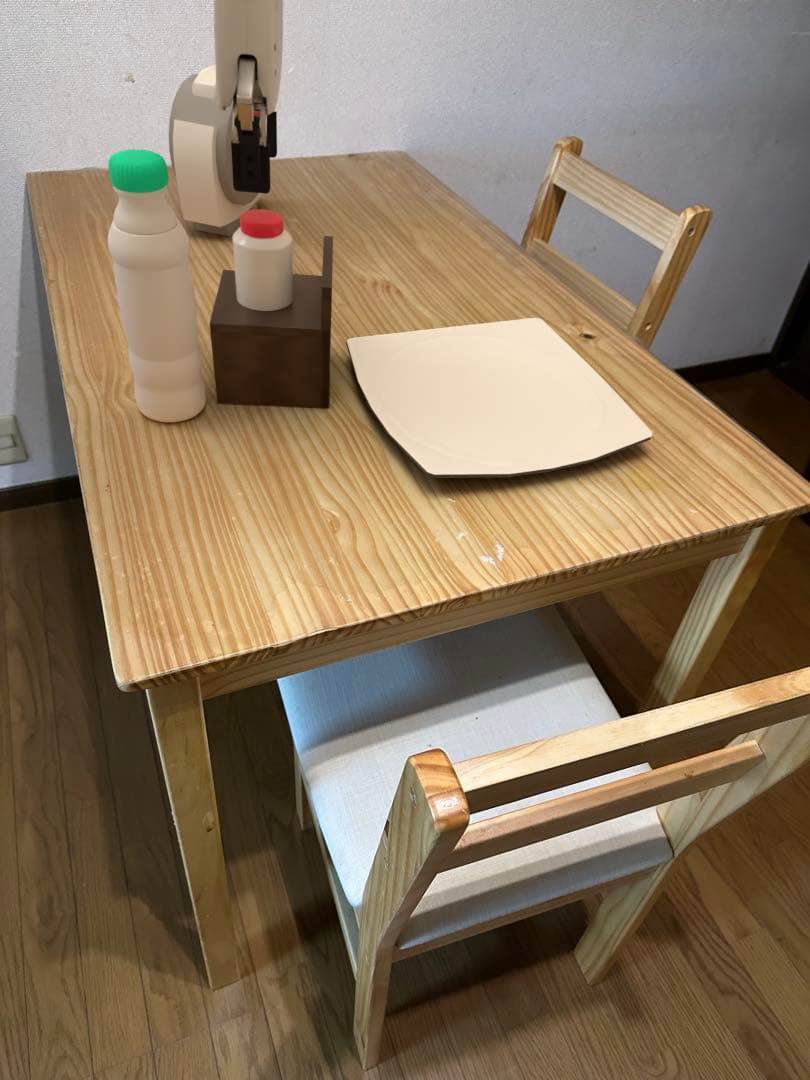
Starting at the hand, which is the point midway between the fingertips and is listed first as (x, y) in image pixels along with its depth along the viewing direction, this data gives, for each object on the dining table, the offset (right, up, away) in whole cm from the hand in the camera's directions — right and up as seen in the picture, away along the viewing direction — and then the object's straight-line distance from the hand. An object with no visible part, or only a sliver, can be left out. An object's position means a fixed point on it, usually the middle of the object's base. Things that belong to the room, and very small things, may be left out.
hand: (256, 172), depth 71 cm
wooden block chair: (-1, -16, +16) cm, 22 cm away
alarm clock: (-13, +14, +46) cm, 50 cm away
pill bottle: (-1, -9, +9) cm, 13 cm away
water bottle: (-11, -20, +10) cm, 25 cm away
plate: (+23, -19, +15) cm, 34 cm away
